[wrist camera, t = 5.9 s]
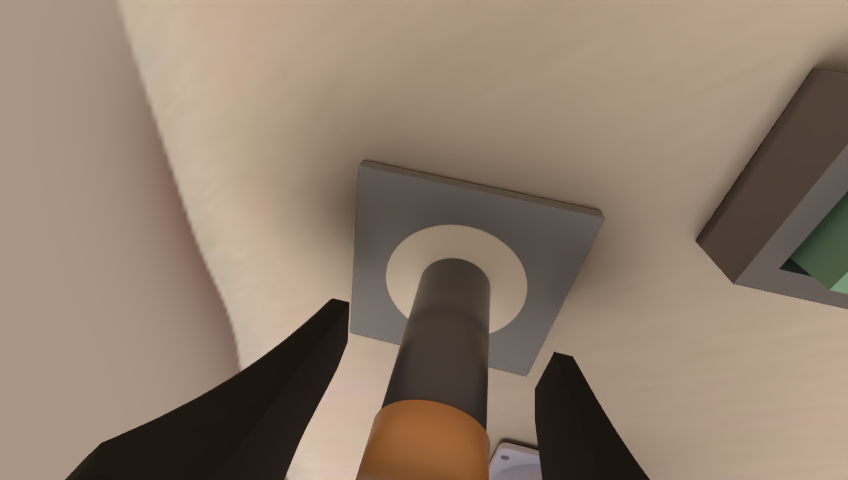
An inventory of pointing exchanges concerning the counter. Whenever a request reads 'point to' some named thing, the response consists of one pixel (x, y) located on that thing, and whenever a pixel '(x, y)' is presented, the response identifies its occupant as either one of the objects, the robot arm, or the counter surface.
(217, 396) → the robot arm
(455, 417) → the cylinder
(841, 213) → the button
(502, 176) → the counter surface
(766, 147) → the button housing
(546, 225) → the grey square plate
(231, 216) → the counter surface
